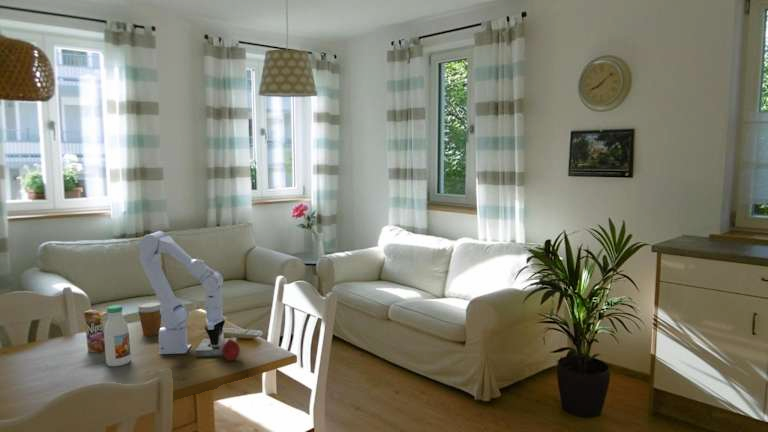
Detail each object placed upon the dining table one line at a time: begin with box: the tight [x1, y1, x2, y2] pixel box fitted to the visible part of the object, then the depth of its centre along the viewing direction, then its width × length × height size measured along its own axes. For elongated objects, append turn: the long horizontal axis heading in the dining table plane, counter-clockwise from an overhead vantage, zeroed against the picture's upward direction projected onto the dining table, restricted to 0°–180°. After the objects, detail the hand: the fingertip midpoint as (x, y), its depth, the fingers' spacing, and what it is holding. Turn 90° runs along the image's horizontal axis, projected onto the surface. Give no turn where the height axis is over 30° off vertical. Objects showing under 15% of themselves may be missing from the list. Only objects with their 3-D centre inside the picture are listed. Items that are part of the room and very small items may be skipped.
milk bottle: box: [104, 304, 132, 367], centre depth 192 cm, size 8×8×20 cm
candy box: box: [83, 308, 108, 355], centre depth 203 cm, size 9×4×15 cm, turn 69°
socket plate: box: [194, 337, 237, 358], centre depth 203 cm, size 12×12×2 cm
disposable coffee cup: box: [136, 300, 162, 337], centre depth 223 cm, size 10×10×12 cm
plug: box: [210, 329, 225, 347], centre depth 203 cm, size 4×4×6 cm
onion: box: [222, 337, 241, 362], centre depth 193 cm, size 6×6×8 cm
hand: (216, 342), depth 203 cm, fingers closed on plug, 4 cm apart
